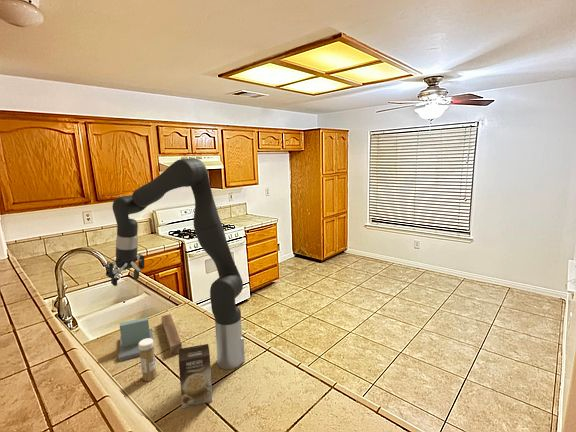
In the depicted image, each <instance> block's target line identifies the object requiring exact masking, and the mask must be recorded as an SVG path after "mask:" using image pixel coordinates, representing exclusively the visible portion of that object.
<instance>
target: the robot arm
mask: <svg viewBox="0 0 576 432" xmlns="http://www.w3.org/2000/svg"><path fill="white" fill-rule="evenodd" d="M185 187H186V188H188V187H190V188H191V191H192V194H193V197H194V213H193V229H194V231H195V236H196V238H197V240H198V243H199V245H200V247H201V248H202V250H203V251H204V252H205V253H206V254H207V255H208V256H209V257H210V258H211V260H212V261H213V263H214V265H215V267H216V270H217V273H218V278H217V279H216V280H214V281H213V282H212V283H211V285H210V290H209V297H210V305H211V307H210V308H211V313H212V315H213V317H214V325H215V327H214V328H215V343H216V359H217V365H218V367H219V368H221V369H223V370H233V369H236V368H238V367H240V366H241V365H242V364H243V363H245V362H246V360H245V358H246V357H245V338H244V337H243V333H242V331H243V330H242V329H243V328H242V312H241V309H240V307H238V306H236V298H237V297H238V296H239V295H240V294H241V293H242V291H243V289H244V284H243V283H244V282H243V278H242V277H241V275H240V272H239V269H238V267H237V265H236V262H235V261H234V258H233V255H232V252H231V248H230V247H229V243H228V240H227V237H226V233H225V230H224V227H223V224H222V220H221V218H220V216H219V213H218V209H217V205H216V202H215V199H214V195H213V192H212V187H211V182H210V178H209V174H208V170H207V167H206V165H205V163H204V162H203V161H202V160H200V159H198V158H181V159H177V160H176V161H174V162H172V164H170V165H169V166H168V167H167V168H166V169H165V170H164V171H163V172H162V173H161V174H159V175H158V176H156V177H155V178H154V179H152V180H151V181H149V182H147V183H146V184H143V185H142V186H139V187H138V188H137V189H135V190H134V191H133V193H132V194H131V195H124V196H117V197H116V198H115V199H113V202H112V211H113V214H114V218H115V221H116V225H117V226H116V238H115V260H114V261H107V262H106V270H105V276H107V278H109V279H111V280H110V282H111V285H112V286H114V287H118V277H119V275H120V274H122V272H124V271H126V270H130V269H132V268H133V269H134V270H133V279H134V280H139V278H140V272H141V270H144V269H145V255H143V254H141V253H139V254H138V247H139V246H138V244H139V243H138V241H139V240H138V239H139V238H138V231H139V230H138V228H139V227H138V226H139V225H138V220H136V219H135V218H134V219H133V218H130V217H129V215H133V214H138V213H139V212H142V211H144V210H145V209H146V208H147V207H148V206H149V205H152V204H153V203H156V202H158V201H159V200H161V199H162V198H163V197H164V196H165V195H166V193H169V192H170V191H173V190H175V189H180V188H185ZM137 261H138V262H137ZM136 263H138V265H137V264H136Z"/></svg>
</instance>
